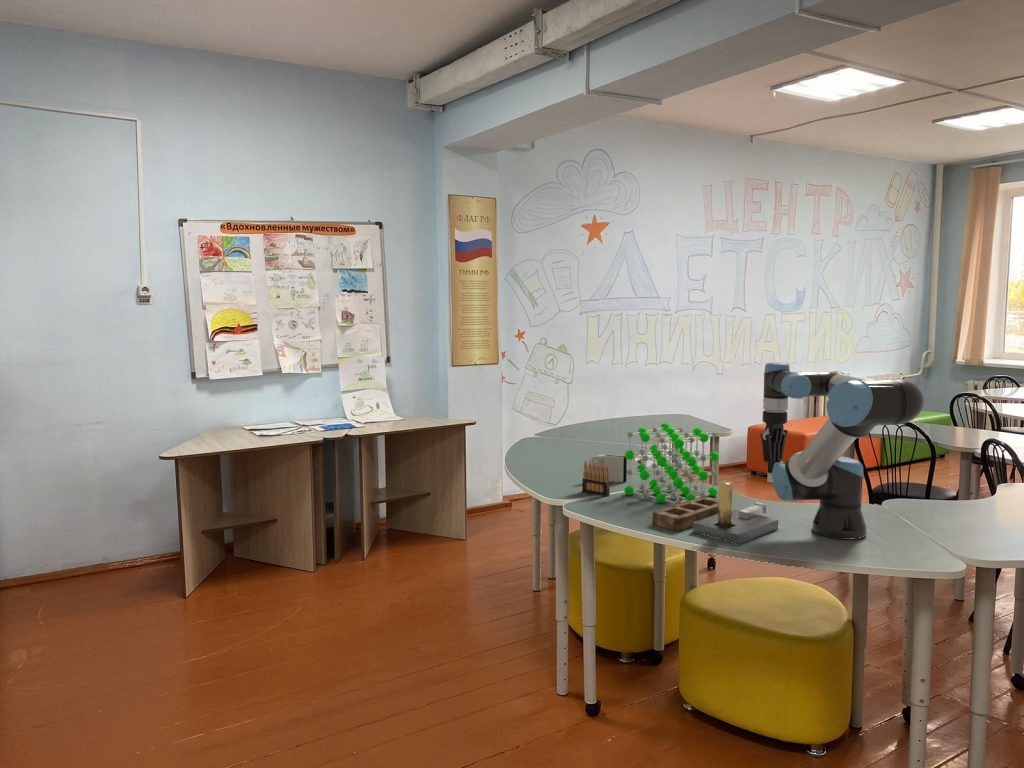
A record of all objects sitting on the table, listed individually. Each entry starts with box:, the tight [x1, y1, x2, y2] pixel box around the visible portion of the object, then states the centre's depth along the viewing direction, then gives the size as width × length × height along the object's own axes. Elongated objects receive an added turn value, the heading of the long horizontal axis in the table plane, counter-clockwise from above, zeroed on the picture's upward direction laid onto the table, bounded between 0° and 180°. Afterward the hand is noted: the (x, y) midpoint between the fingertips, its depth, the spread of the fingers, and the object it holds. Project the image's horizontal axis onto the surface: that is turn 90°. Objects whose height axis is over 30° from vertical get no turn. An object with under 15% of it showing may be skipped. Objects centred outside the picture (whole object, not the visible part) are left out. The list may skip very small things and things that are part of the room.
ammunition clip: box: [581, 459, 611, 497], centre depth 275 cm, size 11×2×12 cm, turn 53°
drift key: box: [739, 501, 770, 519], centre depth 238 cm, size 4×12×2 cm, turn 131°
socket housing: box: [691, 508, 779, 545], centre depth 232 cm, size 16×22×3 cm
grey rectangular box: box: [590, 454, 628, 483], centre depth 294 cm, size 14×5×10 cm, turn 84°
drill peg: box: [718, 480, 734, 529], centre depth 228 cm, size 4×4×16 cm
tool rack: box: [651, 495, 719, 532], centre depth 244 cm, size 10×28×4 cm, turn 131°
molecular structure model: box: [623, 422, 720, 505], centre depth 271 cm, size 24×25×24 cm
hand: (772, 482), depth 245 cm, fingers closed
